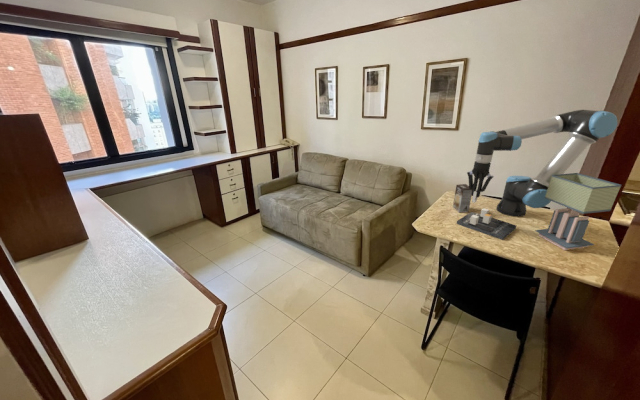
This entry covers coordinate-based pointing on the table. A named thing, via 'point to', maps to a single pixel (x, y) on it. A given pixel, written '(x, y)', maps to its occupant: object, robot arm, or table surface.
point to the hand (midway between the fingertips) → (474, 201)
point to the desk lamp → (576, 207)
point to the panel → (488, 226)
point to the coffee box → (462, 198)
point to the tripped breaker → (487, 218)
